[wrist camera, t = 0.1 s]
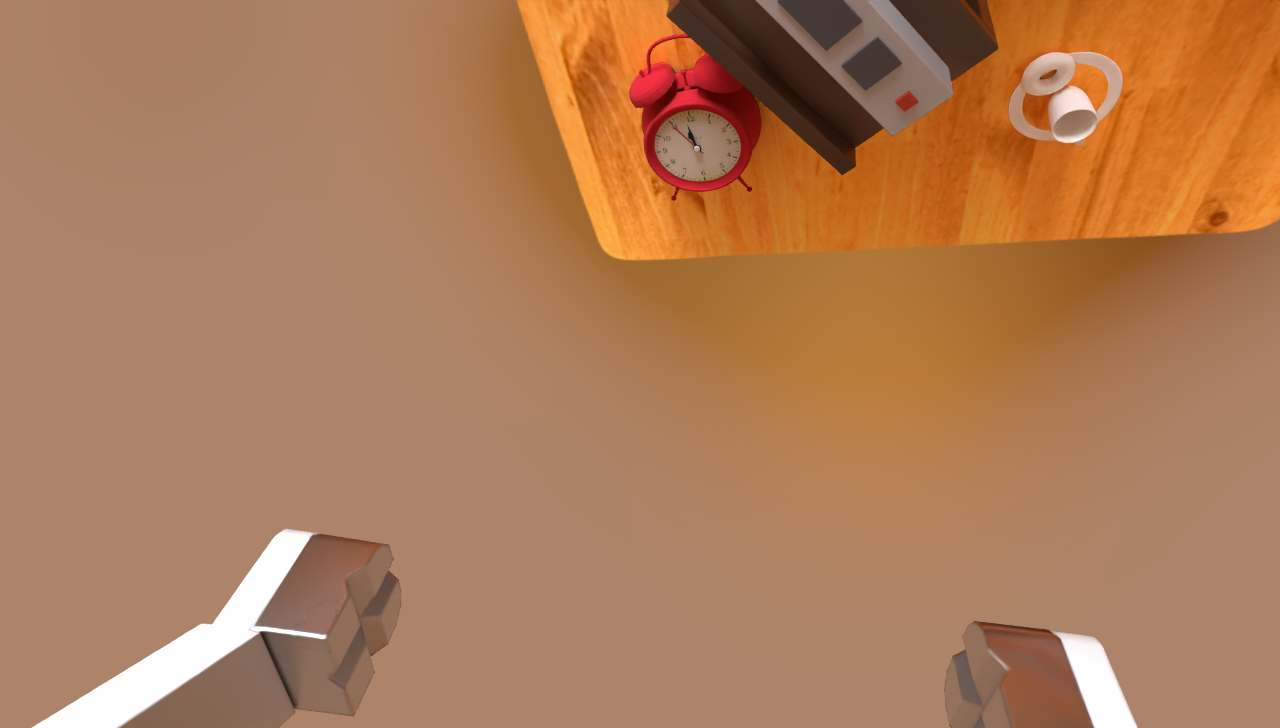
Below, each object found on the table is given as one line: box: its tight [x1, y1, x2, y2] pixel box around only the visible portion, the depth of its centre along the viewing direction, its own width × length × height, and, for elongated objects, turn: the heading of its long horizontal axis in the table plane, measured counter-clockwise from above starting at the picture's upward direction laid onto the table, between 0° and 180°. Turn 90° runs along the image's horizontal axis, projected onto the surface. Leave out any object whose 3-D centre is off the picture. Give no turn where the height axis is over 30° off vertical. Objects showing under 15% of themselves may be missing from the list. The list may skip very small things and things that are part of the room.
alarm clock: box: [629, 34, 761, 201], centre depth 62 cm, size 10×6×15 cm
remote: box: [756, 0, 953, 136], centre depth 44 cm, size 15×4×3 cm, turn 50°
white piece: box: [1008, 52, 1123, 146], centre depth 57 cm, size 9×8×4 cm
